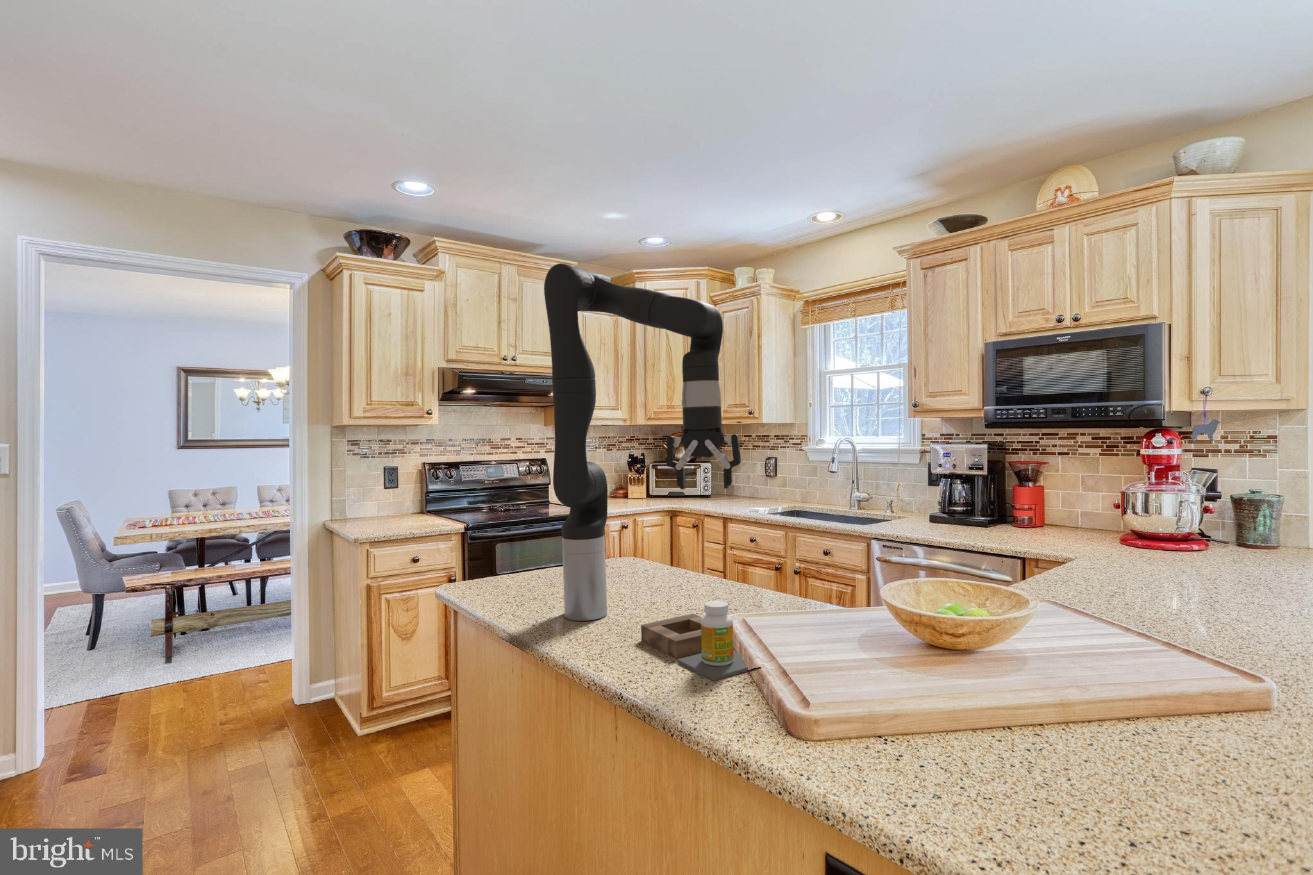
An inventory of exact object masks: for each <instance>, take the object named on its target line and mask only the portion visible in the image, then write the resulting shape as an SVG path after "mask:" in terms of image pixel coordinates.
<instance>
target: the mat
mask: <svg viewBox="0 0 1313 875" xmlns="http://www.w3.org/2000/svg"><path fill="white" fill-rule="evenodd" d="M740 654H741V653H740V652H737V651H734V661H733V662H732V663H731V664H729V665H725V666H712V665H708V664H705V663H704V662H703V661H702V652H700V653H696V654H692V655H688V656H684V657H681V658H677V663H678V664H679V665H681V666H684V667H685V668H687V669H688V670H691V671H693V672H695V673H697V674H698V675H701V676H703V677H704V678H706V679H708V680H710V681H712V682H715V681H718V680H722V679H726V678H728V677H733V676H735V675H740V674H742V673H741V672H743V673H746V672H748V671H747V670H748V667H747V665H746V664H745V662H744V660H743V659H742V657H741V656H740Z"/></svg>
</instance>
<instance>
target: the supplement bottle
mask: <svg viewBox="0 0 1313 875" xmlns="http://www.w3.org/2000/svg"><path fill="white" fill-rule="evenodd" d="M703 609H704V613H705V615H703V616H701V617H702V619H701V644H702V652H701V653H702V661H703V662H704V663H705V664H708V665H712V666H725V665H729V664H731V663H732V662H733V661H734V652H735V651H734V649H735V648H734V647H735V646H734V621H733V618H732V616H730V615H729V614H728V613H729V604H728V602H726V601H724V600H723V601H722V600H711V601H707V602H705V603H704V608H703Z"/></svg>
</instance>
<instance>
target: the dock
mask: <svg viewBox="0 0 1313 875" xmlns="http://www.w3.org/2000/svg"><path fill="white" fill-rule="evenodd" d="M702 617H703V616H700V615H698V614H696V613H688V614H684V615H679V616H675V617H670V618H667V619H662V620H658V621H651V622H648V623H645V624H644V623H643V624H640V632H641V633H640V635H641V638H640V639H641V642H643V643H645V644H648V645H649V646H652V647H653V648H655V649H657V650H659V651H661V652H663V653H665V654H667V655H669V656H671V657H672V658H675V659H681V658H685V657H689V656H692V655H696V654H700V653H702V644H701V619H702Z"/></svg>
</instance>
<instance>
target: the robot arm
mask: <svg viewBox="0 0 1313 875" xmlns="http://www.w3.org/2000/svg"><path fill="white" fill-rule="evenodd" d="M543 293H544V294H543V295H544V302H545V309H546V316H547V321H548V322H547V323H548V330H549V340H550V355H551V373H552V374H551V382H552V384H551V385H552V399H553V402H552V403H553V422H554V424H553V425H554V455H553V456H554V457H553V468H552V469H553V472H552V474H553V475H552V485H553V492H554V495H555V496H556V498H557V500H558V501H559V502H560V504H561V505H563V506H565V507H569V513H568V515H567V518H566V519H565V521H564V522H563V523H562V524H561V525H562V526H561V550H562V552H561V553H562V577H563V578H562V579H563V603H564V604H563V606H564V617H565V618H566V619H567V620H570V621H578V622H579V621H580V622H581V621H582V622H583V621H584V622H586V621H595V620H597V619H598V620H600V619H602V618H604V617H606V616H607V615H608V601H607V600H608V598H607V596H608V595H607V569H606V568H607V567H606V565H607V564H606V563H607V562H606V544H605V541H606V540H605V539H606V538H605V528H606V524H607V521H608V505H609V504H608V501H609V500H608V499H609V498H608V491H609V490H608V480H607V476H606V473H605V471H604V470H603V468H602V467H601V466H600V465H599V464H597V463H595V462H591V461H588V458H587V436H588V433H589V427H590V424H591V422H592V418H593V415H594V411H595V407H596V401H597V388H596V387H597V386H596V385H597V383H596V373H595V372H596V371H595V366H594V363H593V362H592V358H591V356H590V354H589V351H588V350H587V347H586V345H585V342H584V340H583V338H582V334H581V331H580V326H579V312H592V313H593V312H595V313H598V312H599V313H604V314H611V315H615V316H617V317H621V318H623V319H626V320H628V321H631V322H633V323H636V324H640V325H645V326H648V327H651V328H656V329H660V330H661V329H662V330H667V331H669V332H672V333H674V334H679V335H682V336H685V337H688V338H690V347H689V351H688V352H686V353H684V355H683V357H682V365H681V366H682V367H681V368H682V389H681V390H682V392H681V406H682V408H681V409H682V435H681V436H674V435H670V436H668V437H667V438H666V439H667V440H666V466H667V467H669V468H671V469H675V471H676V485H677V487H679V488H680V490H685V489H686V488H687V485H686V484H687V482H686V481H687V480H686V469H685V466H686V465H687V463H688V462H689V461H690V460H691V458H692V457H693V458H695V459H696V458H698V459H699V458H712V457H715V458H716V459H717V460H718V462H719V463H720V464H721V465H722V466H723V468H724V469H723V471H722V472H723V489H724V490H727V489H729V488H730V486H732V484H733V468H734V467H736V466H739V465H740V464H741V463H742V459H741V457H742V456H741V448H740V446H741V445H740V436H739V435H738V434H737V433H734V434H731V435H724V433H723V426H722V425H723V424H722V423H723V417H722V395H721V394H722V392H721V387H720V368H719V367H720V366H719V356H720V351H721V346H722V341H723V332H724V322H723V317H722V315H721V314H722V313H721V312H720V310H719V309H718V308H717V307H716V306H715V305H713V304H710V303H706V302H704V301H701V300H697V299H693V298H686V297H682V296H675V295H670V294H667V293H664V292H661V291H657V290H653V289H647V288H643V287H636V286H635V287H634V286H625V285H620V284H615V283H612V282H610V281H607V280H605V279H603V278H601V277H598V276H596V275H594V274H593V273H592V272H591V273H590V272H589V271H587V269H583V268H580V267H576V266H574V265H571V264H567V263H557V264H554V265H553V266H551V267H550V268H549V269H548V271H547V273H546V276H545V278H544V285H543ZM725 442H727V445H728V446H730V447H731V451H732V460H729V458H728V457H727V456H726V455H725V453H724V451H722V449H721V447H722V446H723V444H724V443H725ZM680 443H681V444H682V446H684V448H685V449H686V450H685V451H684V453H683V455H682V456H681V457H680V459H679V460H678V461H676V448H678V447H679V444H680Z"/></svg>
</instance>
